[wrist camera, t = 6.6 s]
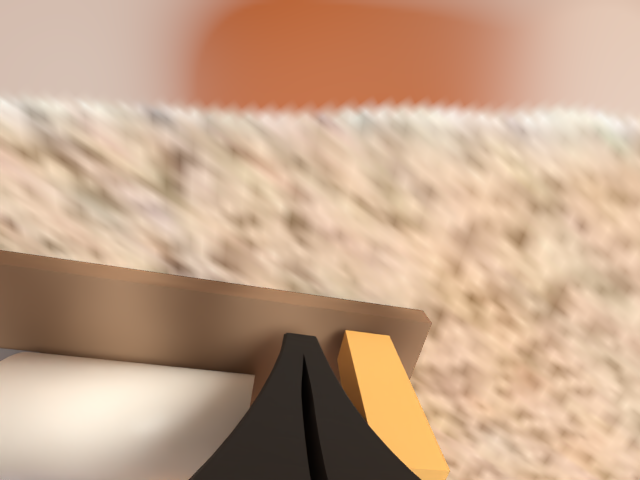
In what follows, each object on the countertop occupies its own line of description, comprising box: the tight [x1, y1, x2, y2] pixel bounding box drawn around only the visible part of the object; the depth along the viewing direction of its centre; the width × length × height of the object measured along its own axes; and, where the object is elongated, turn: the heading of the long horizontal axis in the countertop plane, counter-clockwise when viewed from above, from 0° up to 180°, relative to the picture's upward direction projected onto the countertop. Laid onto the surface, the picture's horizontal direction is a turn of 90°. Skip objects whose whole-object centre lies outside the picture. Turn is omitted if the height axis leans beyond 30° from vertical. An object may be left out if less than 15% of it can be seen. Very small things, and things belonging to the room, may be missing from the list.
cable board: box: [0, 250, 432, 407], centre depth 14 cm, size 22×11×1 cm, turn 78°
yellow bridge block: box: [337, 330, 450, 480], centre depth 12 cm, size 2×10×6 cm, turn 168°
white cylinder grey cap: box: [0, 348, 255, 480], centre depth 11 cm, size 11×4×4 cm, turn 78°
